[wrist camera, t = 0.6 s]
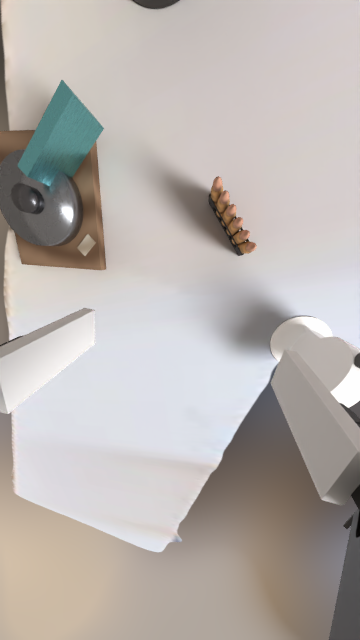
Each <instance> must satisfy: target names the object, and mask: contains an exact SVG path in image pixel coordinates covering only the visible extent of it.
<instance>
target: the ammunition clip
mask: <svg viewBox="0 0 360 640" xmlns="http://www.w3.org/2000/svg"><path fill="white" fill-rule="evenodd" d="M229 202H230V200H229V193H228V191H223V186H222V179H221V178H220V177H219V176H218V177H216V178H215V179H214V182H213V186H212V188H211V194H210V195H209V204H210V205H211V207H212V209H213V211H214V213H215V214H216V216H217V218H218V220H219V222H220V223H221V225H222V227H223V229H224V231H225V232H226V234H227V236H228V238H229V240H230V241H231V243H232V245H233V247H234V249H235V250H236V252H237V254H238V256H240V255H243V254H244V253H251V252H252V251H254V250H255V249H256V247H257V246H256V244H255V243H253V242H249V240H248V238H249V236H250V232H249V231H248V230H243V229H242V224H243V219H242V218H241V217H238V218H236V216H235V215H236V206H235V205H234V204H231V205H229ZM234 218H235V219H234ZM233 219H234V220H233ZM240 229H241V231H239V230H240ZM245 241H246V242H245Z"/></svg>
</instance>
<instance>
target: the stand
mask: <svg viewBox="0 0 360 640" xmlns="http://www.w3.org/2000/svg"><path fill="white" fill-rule="evenodd" d="M35 131H36V130H24V131H0V165H1V163H2V161H3V160H4V159H5V157H6V156H8V155H9V154H10V153H12V152H14V151H16V150H21V149H26V148H27V146H28V144H29V142H30V140H31V138H32V136H33V134H34V132H35ZM72 178H73V180H74V181H75V183H76V185H77V187H78V189H79V192H80V194H81V198H82V203H83V221H82V225H81V228H80V230H79V233H78V234H77V236H76V237H75V238H74V239H73V240H72V241H71V242H69V243H67V244H65V245H62V246H40V245H35V244H32V243H30V242H28V241H26V240H24V239H23V238H21V237H20V236H19V235H18V234H17V233H16V232H15V236H16V240H17V245H18V249H19V253H20V258H21V262H22V264H27V265H40V266H53V267H66V268H79V269H93V270H105V269H106V261H105V249H104V236H103V223H102V210H101V198H100V185H99V172H98V159H97V147H96V142H95V143H94V145H93V146H92V148H91V149H90V151H89V152H88V154H87V155H86V157H85V159H84V160H83V162H82V163H81V165H80V166H79V168H78V169H77V171H76V172H75V174H74V176H73V177H72Z"/></svg>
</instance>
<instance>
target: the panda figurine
mask: <svg viewBox="0 0 360 640" xmlns="http://www.w3.org/2000/svg"><path fill="white" fill-rule="evenodd" d="M270 348H271V352H272V354H273V356H274V357H275V358H276V359H277V360H278V361H279V362H280V359H281V357H282V354H283V352H284V350H285V349H286V350H291V351H296V352H298V354H299V355H300V356H301V357H302V359H303V360H304V361H305V362H306V363H307V365H308V366H309V367H310V368H311V369H312V371H313V372H314V373H315V374H316V376H317V377H318V378H319V379H320V380H321V382H322V383H323V384H324V385H325V386H326V388H327V389H328V390H329V391H330V392H331V394H332V395H333V396H334V397H335V399H336V400H337V401H338V402H339V403H342V404H344V405H345V406H346V407H347V408H349V407H351V406H352V405H354V404H355V403H357V402H358V401H359V400H360V349H359V348H357V347H355V346H354V345H352V344H350V343H348V342H346V341H344V340H342V339H340V338H338V337H332V333H331V330H330V328H329V327H328V326H327V325H326V324H325V323H324V322H323V321H321V320H319V319H317V318H314V317H309V316H299V317H294V318H291V319H289V320H287V321H285V322H283V323H282V324H281V325H279V326H278V327H277V328H276V330H275V331H274V333H273V334H272V337H271V340H270Z"/></svg>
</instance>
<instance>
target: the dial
mask: <svg viewBox="0 0 360 640" xmlns="http://www.w3.org/2000/svg"><path fill="white" fill-rule="evenodd" d="M103 129H104V128H103V127H102V126H101V124H100V123H99V122H98V121H97V119H96V118H95V117H94V116H93V115H92V114H91V112H90V111H89V110H88V109H87V108H86V107H85V105H84V104H83V103H82V102H81V101H80V100H79V99H78V97H77V96H76V95H75V94H74V93H73V92H72V90H71V89H70V88H69V87H68V86H67V85H66V83H65V82H64V81H63V80H61V82H60V84H59V86H58V88H57V90H56V92H55V94H54V96H53V98H52V100H51V102H50V104H49V105H48V107H47V109H46V111H45V113H44V115H43V117H42V119H41V121H40V123H39V125H38V127H37V129H36V131H35V132H34V134H33V136H32V138H31V140H30V142H29V144H28V146H27V148H26V149H21V150H16V151H14V152H12V153H10V154H9V155H8V156H6V157H5V159H4V160H3V161H2V163H1V165H0V209H1V211H2V214H3V215H4V217H5V219H6V221H7V222H8V224H9V225H10V227H11V228H12V229H13V230H14V231H15V232H16V233H17V234H18V235H19V236H20V237H21V238H23V239H24V240H26V241H28V242H30V243H32V244H35V245H40V246H62V245H65V244H67V243H69V242H71V241H72V240H73V239H74V238H75V237H76V236H77V234H78V233H79V230H80V228H81V225H82V221H83V203H82V198H81V194H80V192H79V189H78V187H77V185H76V183H75V181H74V180H73V178H72V177H73V176H74V174H75V172H76V171H77V169H78V168H79V166H80V165H81V163H82V162H83V160H84V159H85V157H86V155H87V154H88V152H89V151H90V149H91V148H92V146H93V145H94V143H95V142H96V140H97V138H98V137H99V135H100V134H101V132H102V131H103Z"/></svg>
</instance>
